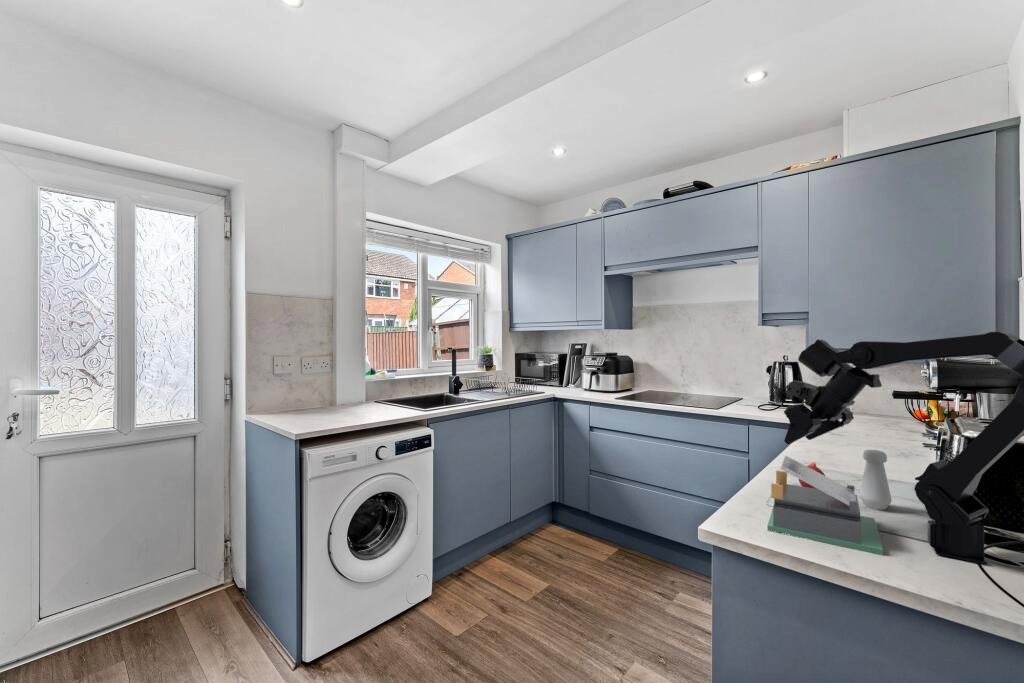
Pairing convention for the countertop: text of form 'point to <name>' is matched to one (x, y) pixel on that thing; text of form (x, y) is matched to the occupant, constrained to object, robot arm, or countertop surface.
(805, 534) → the processor board
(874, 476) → the salt shaker
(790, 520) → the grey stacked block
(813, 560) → the countertop surface
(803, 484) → the onion
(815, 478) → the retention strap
